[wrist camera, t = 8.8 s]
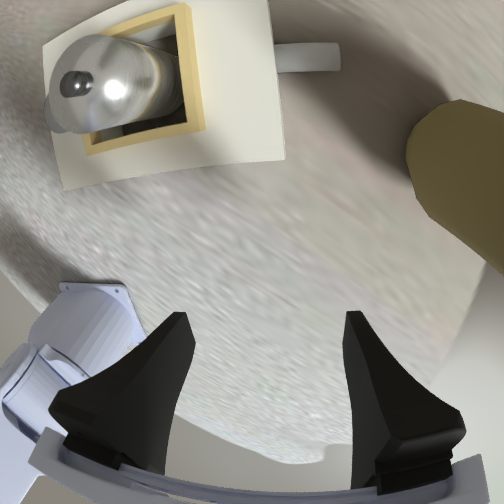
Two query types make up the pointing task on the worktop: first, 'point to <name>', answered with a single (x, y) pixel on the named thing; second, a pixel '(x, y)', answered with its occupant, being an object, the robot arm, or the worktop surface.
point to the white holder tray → (191, 89)
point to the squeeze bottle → (462, 174)
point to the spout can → (113, 84)
